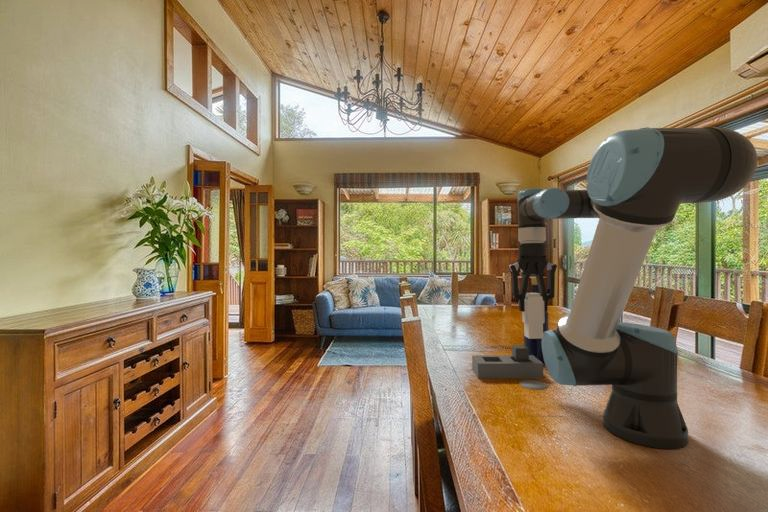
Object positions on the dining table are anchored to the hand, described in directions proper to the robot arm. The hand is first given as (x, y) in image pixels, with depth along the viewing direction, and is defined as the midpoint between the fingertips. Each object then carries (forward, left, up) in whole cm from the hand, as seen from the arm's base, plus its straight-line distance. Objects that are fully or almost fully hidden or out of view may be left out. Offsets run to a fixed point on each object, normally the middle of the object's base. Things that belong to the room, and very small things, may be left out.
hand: (533, 322), depth 107 cm
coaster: (0, 0, -19) cm, 19 cm away
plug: (0, 0, -4) cm, 4 cm away
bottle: (+25, -10, -19) cm, 33 cm away
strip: (+10, +5, -19) cm, 22 cm away
